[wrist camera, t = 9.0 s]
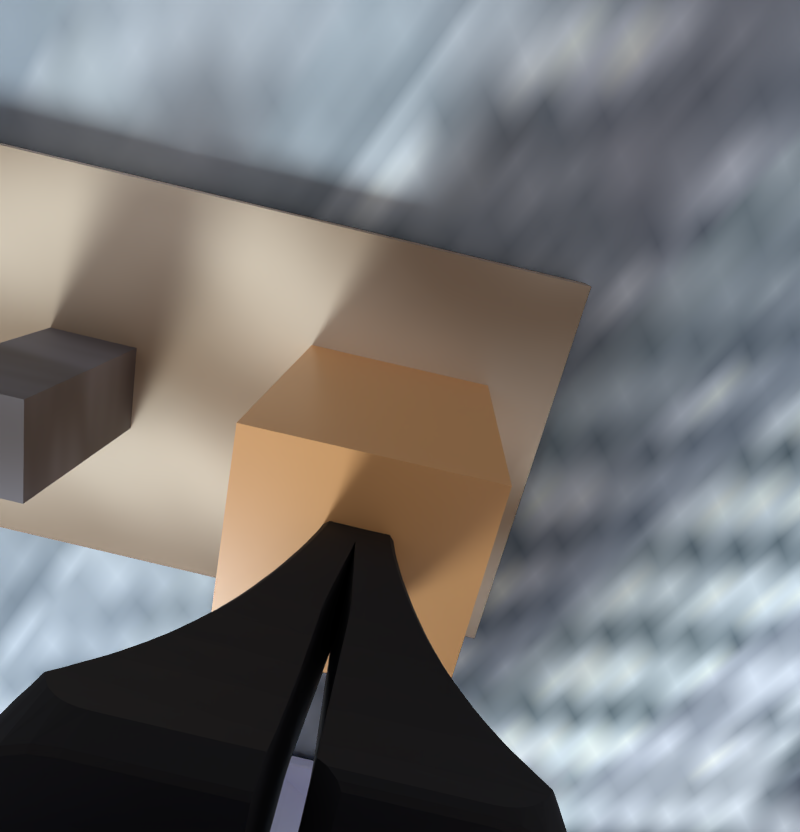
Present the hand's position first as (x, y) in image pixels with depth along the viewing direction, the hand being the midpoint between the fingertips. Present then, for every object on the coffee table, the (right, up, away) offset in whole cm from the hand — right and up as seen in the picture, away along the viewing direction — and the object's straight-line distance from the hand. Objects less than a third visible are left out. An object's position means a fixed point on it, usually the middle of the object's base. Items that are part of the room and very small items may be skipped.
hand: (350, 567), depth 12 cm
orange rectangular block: (0, +2, +6) cm, 6 cm away
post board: (-4, +3, +7) cm, 8 cm away
